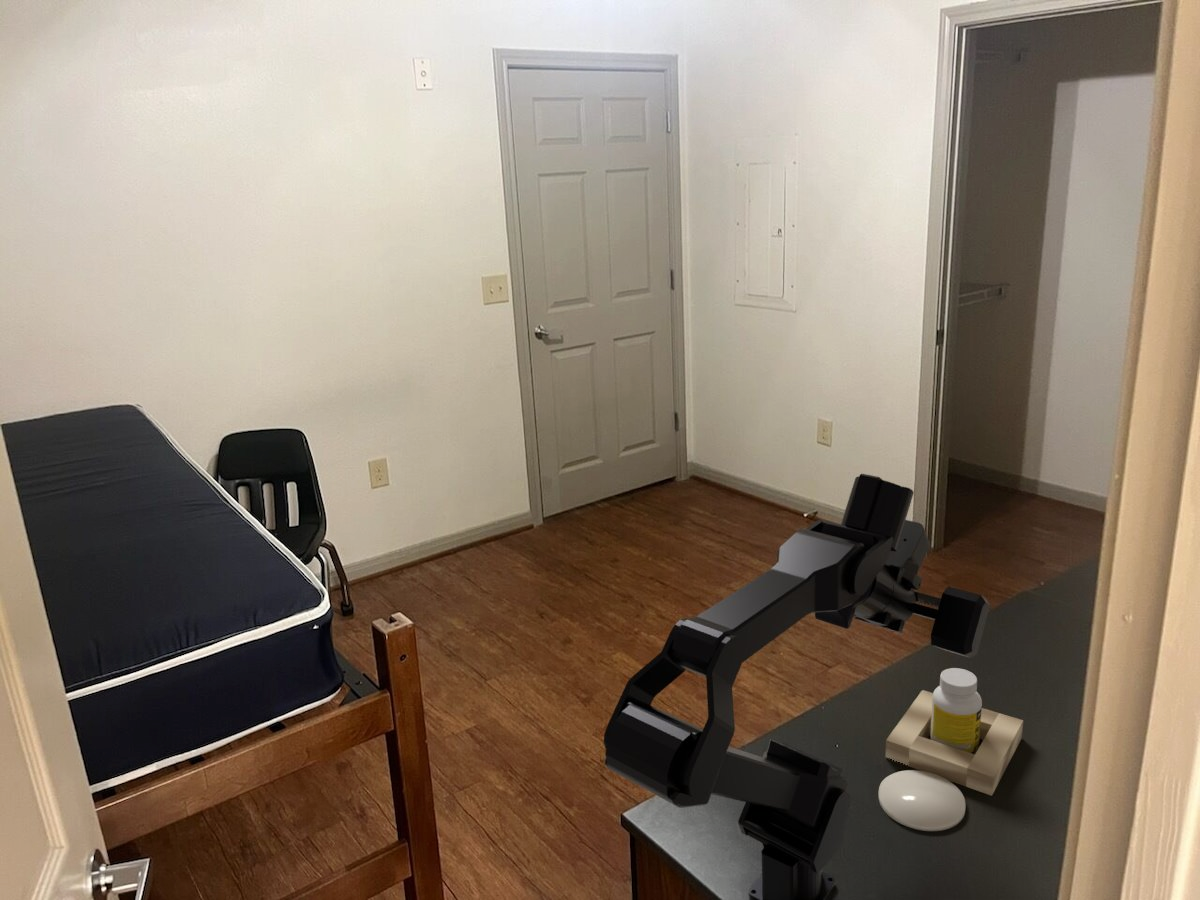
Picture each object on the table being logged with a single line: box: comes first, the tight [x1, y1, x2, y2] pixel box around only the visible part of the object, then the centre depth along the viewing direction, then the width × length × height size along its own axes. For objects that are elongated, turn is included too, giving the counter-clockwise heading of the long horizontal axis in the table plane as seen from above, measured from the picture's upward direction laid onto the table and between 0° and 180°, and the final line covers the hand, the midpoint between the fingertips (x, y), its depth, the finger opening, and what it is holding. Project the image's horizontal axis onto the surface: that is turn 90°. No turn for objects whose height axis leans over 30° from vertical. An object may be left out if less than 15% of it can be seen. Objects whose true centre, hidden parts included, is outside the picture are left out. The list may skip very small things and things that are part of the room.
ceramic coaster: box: [878, 769, 966, 832], centre depth 99 cm, size 9×9×1 cm
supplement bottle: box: [929, 667, 983, 754], centre depth 105 cm, size 5×5×10 cm
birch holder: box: [885, 689, 1024, 797], centre depth 107 cm, size 12×12×2 cm
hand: (917, 617), depth 101 cm, fingers open, 9 cm apart
